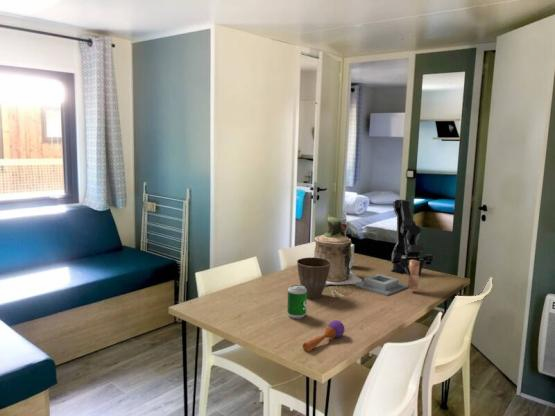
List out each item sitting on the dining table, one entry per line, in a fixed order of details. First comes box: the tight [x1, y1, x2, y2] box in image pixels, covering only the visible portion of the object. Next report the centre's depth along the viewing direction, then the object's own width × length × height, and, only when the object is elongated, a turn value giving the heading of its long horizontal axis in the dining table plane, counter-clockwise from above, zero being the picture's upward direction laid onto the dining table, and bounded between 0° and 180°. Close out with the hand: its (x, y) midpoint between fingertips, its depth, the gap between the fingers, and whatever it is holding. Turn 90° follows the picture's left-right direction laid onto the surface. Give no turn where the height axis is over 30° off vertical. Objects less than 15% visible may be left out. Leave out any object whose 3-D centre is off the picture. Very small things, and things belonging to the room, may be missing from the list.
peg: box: [407, 260, 420, 290], centre depth 212 cm, size 4×4×13 cm
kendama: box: [302, 319, 345, 353], centre depth 158 cm, size 6×6×20 cm
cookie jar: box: [313, 215, 363, 286], centre depth 230 cm, size 25×25×32 cm
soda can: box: [286, 284, 308, 320], centre depth 181 cm, size 8×8×12 cm
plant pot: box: [296, 257, 331, 300], centre depth 203 cm, size 15×15×16 cm
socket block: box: [354, 273, 408, 296], centre depth 219 cm, size 18×18×4 cm
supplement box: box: [349, 243, 355, 270], centre depth 252 cm, size 7×7×13 cm
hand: (414, 275), depth 210 cm, fingers closed on peg, 4 cm apart
